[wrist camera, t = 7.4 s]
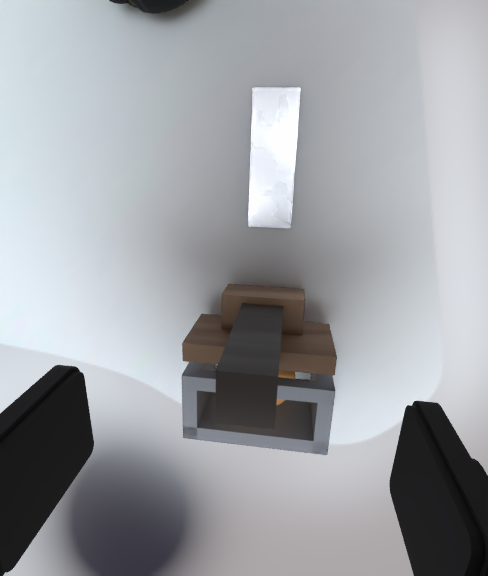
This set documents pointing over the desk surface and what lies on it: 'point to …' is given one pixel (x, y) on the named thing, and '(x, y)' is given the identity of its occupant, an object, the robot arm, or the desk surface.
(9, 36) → the desk surface
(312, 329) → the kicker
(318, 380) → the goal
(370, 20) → the desk surface
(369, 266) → the desk surface
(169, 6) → the tape measure
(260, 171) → the rail
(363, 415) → the desk surface
